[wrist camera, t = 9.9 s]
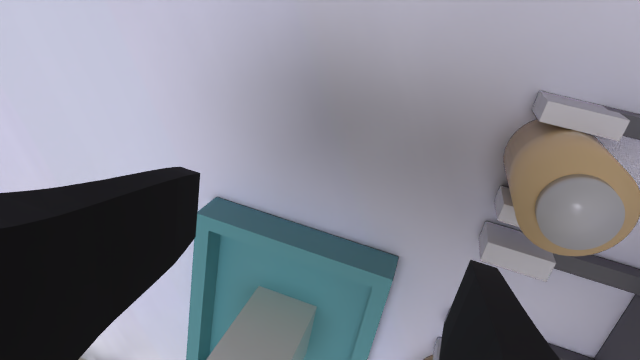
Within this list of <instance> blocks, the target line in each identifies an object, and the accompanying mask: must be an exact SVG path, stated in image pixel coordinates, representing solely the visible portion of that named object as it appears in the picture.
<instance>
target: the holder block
mask: <svg viewBox="0 0 640 360" xmlns="http://www.w3.org/2000/svg"><path fill="white" fill-rule="evenodd" d="M532 111H533V112H534V114H535V115H536V117H537V119H538V120H539V122H543V123H547V124H551V125H555V126H559V127H563V128H567V129H571V130H575V131H579V132H583V133H587V134H591V135H595V136H599V137H603V138H607V139H611V140H615V141H620V139H621V137H622V136H626V137H630V138H634V139H638V140H640V114H636V113H632V112H627V111H623V110H619V109H615V108H611V107H606V106H602V105H598V104H594V103H589V102H585V101H581V100H577V99H573V98H568V97H564V96H560V95H556V94H552V93H547V92H543V91H539V93H538V95H537V98H536V100H535V103H534V105H533V108H532ZM494 203H495V210H496V216H497V221H500V222H504V223H507V224H510V225H514V226H517V227H519V225H518V222H517V219H516V215H515V211H514V207H513V202H512V198H511V194H510V189H509V188H507V187H504V186H500V188H499V190H498V193H497V195H496V198H495V200H494ZM479 253H480V261H482V262H485V263H488V264H491V265H494V266H498V267H501V268H504V269H507V270H510V271H513V272H516V273H520V274H523V275H526V276H529V277H532V278H535V279H538V280H541V281H545V282H547V280H548V278H549V276H550V274H551V272H552V270H553V268H554V269H557V270H561V271H564V272H567V273H570V274H573V275H577V276H580V277H583V278H586V279H589V280H593V281H596V282H599V283H602V284H605V285H609V286H612V287H615V288H618V289H621V290H625V291H628V292H631V293H634V294H636V295H635V297H634V298H633V300H632V301H631V303H630V304H629V306H628V307H627V309H626V311H625V312H624V314H623V315H622V317H621V318H620V320H619V321H618V323H617V324H616V326H615V328H614V329H613V331H612V332H611V334H610V335H609V337H608V338H607V340H606V342H605V343H604V345H603V346H602V348H601V349H600V351H599V352H598V354H597V355H596V357H595V359H592V358H589V357H586V356H583V355H580V354H577V353H575V352H572V351H569V350H566V349H563V348H560V347H557V346H554V345H551V344H549V346H550V347H551V348H552V350H553V351H554V352H555V353H556V355H557V356H558V357H559V359H560V360H640V269H637V268H633V267H630V266H627V265H623V264H620V263H617V262H613V261H610V260H607V259H603V258H600V257H597V256H593V255H586V256H564V255H558V254H554V253H551V252H548V251H546V250H544V249H542V248H540V247H538V246H536V245H535V244H533V243H532V242H531V241H530V240H529V239H528V238H527V237H526V236H525V235H524V234H523V232H521V231H517V230H514V229H511V228H507V227H504V226H501V225H497V224H494V223H491V222H487V221H486V222H485V224H484V227H483V229H482V232H481V234H480V237H479ZM450 309H451V308H450ZM449 311H450V310H449ZM448 313H449V312H448ZM447 316H448V314H447ZM446 318H447V317H446ZM445 321H446V319H445ZM444 323H445V322H444ZM441 341H442V338H439V337H438V339H437V341H436V344H435V346H434V352H433V360H439V355H440V348H441Z"/></svg>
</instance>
